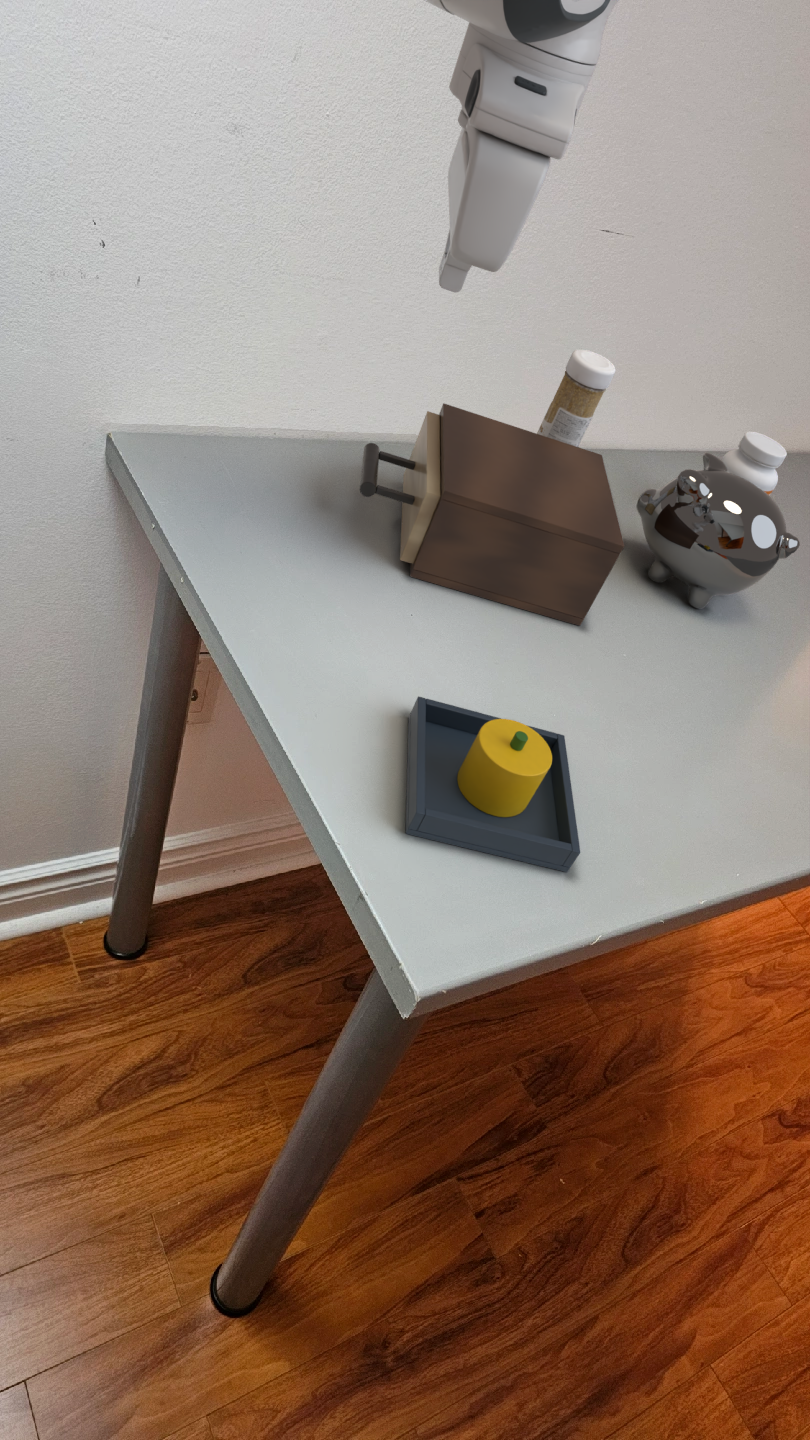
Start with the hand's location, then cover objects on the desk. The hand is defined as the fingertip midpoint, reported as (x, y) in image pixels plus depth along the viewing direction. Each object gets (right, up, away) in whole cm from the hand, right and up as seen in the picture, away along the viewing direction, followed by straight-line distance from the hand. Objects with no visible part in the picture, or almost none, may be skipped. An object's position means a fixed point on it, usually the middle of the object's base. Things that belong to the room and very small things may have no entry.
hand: (448, 283), depth 80 cm
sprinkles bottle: (+11, -8, +30) cm, 33 cm away
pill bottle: (+30, -13, +34) cm, 47 cm away
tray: (+2, -38, -8) cm, 39 cm away
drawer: (+1, -16, +14) cm, 22 cm away
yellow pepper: (+3, -38, -8) cm, 39 cm away
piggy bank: (+24, -20, +24) cm, 39 cm away
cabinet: (+5, -18, +16) cm, 24 cm away
